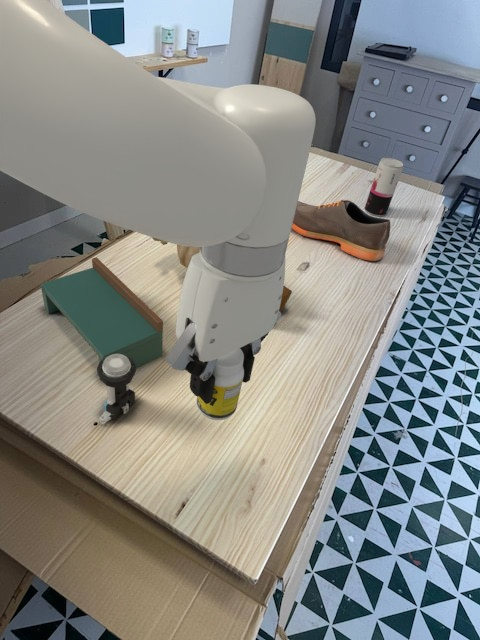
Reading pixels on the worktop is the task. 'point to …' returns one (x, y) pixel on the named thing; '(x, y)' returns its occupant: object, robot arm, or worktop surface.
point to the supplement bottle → (225, 387)
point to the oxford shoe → (344, 228)
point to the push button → (116, 384)
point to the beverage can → (383, 186)
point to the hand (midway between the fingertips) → (220, 383)
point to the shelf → (106, 313)
